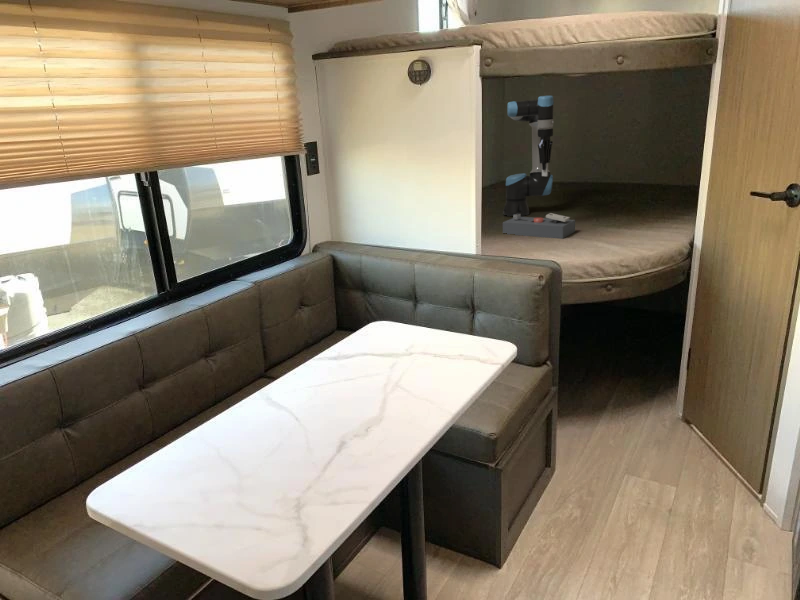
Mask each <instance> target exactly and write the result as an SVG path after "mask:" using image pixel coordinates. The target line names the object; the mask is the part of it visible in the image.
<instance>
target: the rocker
mask: <svg viewBox="0 0 800 600" xmlns="http://www.w3.org/2000/svg"><path fill="white" fill-rule="evenodd" d="M545 218H550V219H554V220H559V221H563V222H566V221H568V220H570V218H571V217H570V216H565V215H562V214H556V213H552V212H549V213H547V214H546V215H545Z"/></svg>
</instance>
